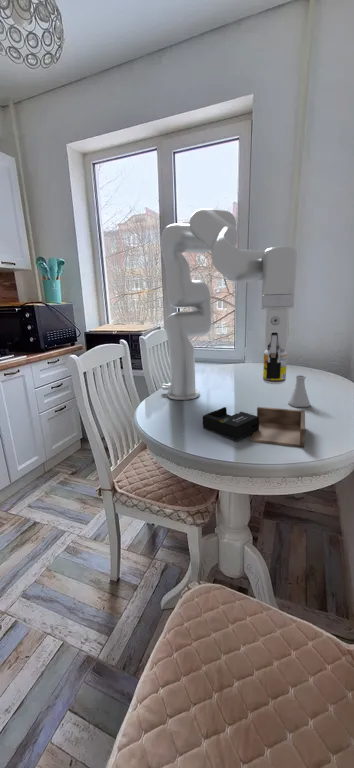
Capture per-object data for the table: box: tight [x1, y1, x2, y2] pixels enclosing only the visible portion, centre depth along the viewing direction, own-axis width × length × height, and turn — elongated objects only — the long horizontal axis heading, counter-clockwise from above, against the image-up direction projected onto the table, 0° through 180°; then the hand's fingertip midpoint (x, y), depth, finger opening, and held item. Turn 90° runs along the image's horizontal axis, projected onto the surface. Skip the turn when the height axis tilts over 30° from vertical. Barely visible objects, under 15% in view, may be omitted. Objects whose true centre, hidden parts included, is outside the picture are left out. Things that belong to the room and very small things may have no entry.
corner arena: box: [250, 406, 306, 448], centre depth 87 cm, size 13×13×5 cm
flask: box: [288, 374, 311, 408], centre depth 108 cm, size 7×7×10 cm
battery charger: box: [202, 406, 259, 442], centre depth 90 cm, size 13×10×4 cm
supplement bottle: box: [262, 345, 288, 385], centre depth 81 cm, size 6×6×10 cm
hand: (274, 374), depth 81 cm, fingers closed on supplement bottle, 5 cm apart
